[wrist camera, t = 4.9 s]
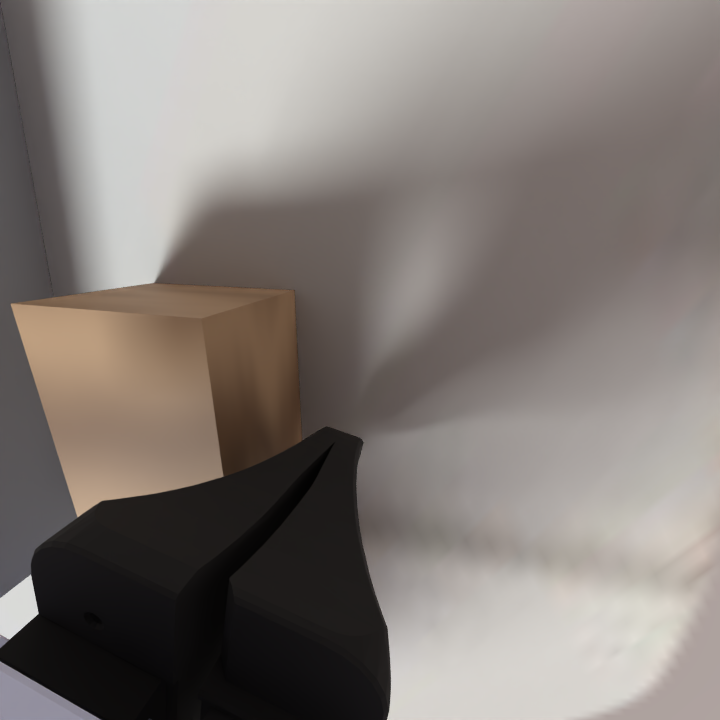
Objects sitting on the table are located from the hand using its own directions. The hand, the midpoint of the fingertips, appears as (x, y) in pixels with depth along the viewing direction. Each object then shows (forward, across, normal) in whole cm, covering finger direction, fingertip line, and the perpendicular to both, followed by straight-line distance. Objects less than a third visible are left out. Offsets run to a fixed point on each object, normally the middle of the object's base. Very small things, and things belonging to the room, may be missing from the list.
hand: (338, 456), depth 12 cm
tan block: (+2, +5, 0) cm, 6 cm away
